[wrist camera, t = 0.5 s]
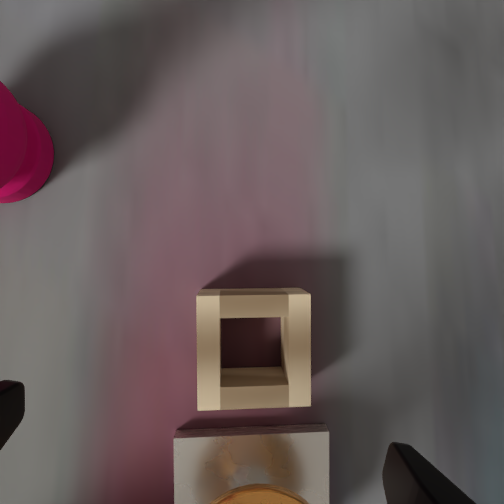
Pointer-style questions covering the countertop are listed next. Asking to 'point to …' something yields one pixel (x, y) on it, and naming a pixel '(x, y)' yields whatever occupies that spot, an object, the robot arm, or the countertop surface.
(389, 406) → the countertop surface
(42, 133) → the pepper mill
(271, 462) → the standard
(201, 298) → the collar
